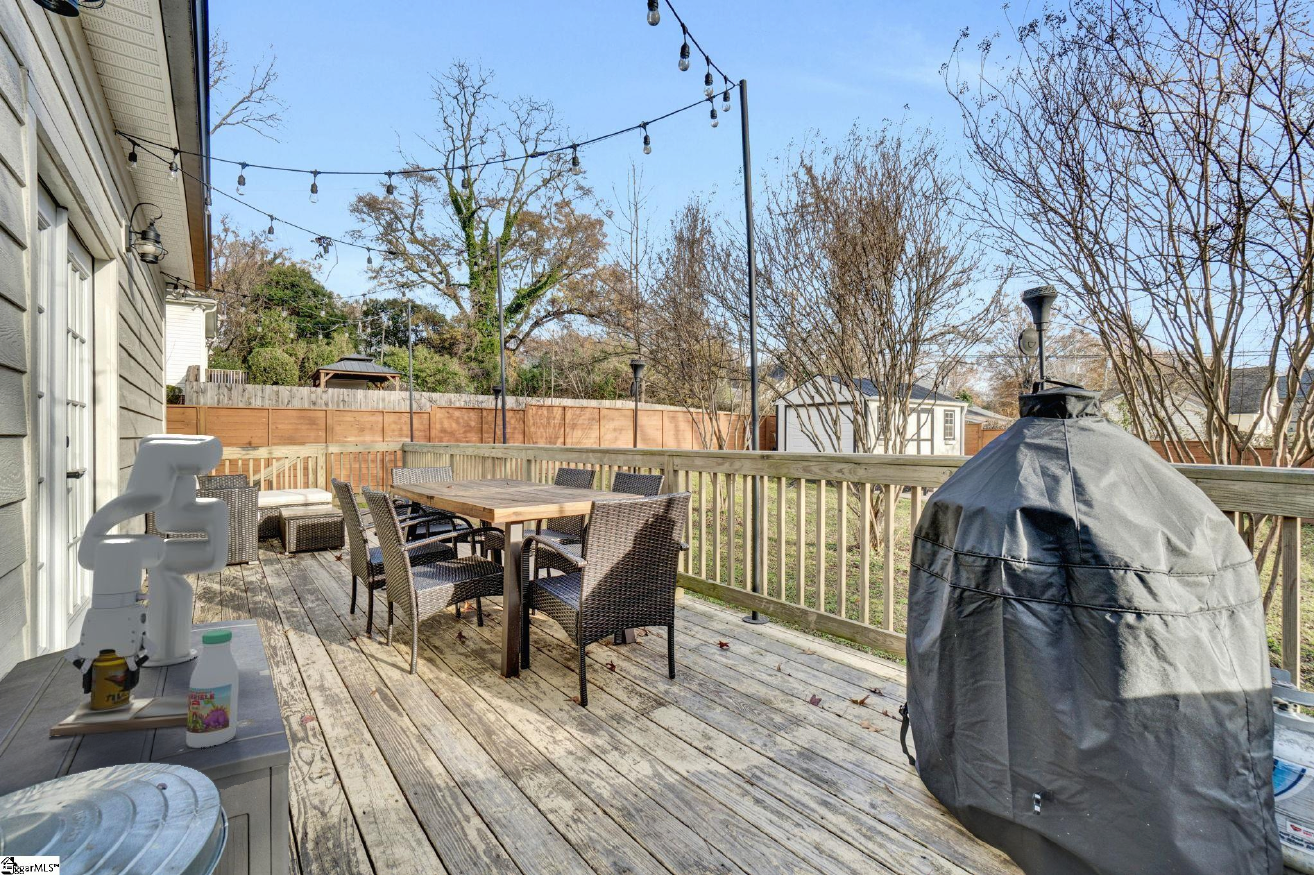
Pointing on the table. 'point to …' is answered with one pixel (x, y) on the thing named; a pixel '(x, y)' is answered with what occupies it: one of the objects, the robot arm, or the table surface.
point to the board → (128, 717)
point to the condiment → (107, 684)
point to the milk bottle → (213, 693)
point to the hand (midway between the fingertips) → (110, 689)
